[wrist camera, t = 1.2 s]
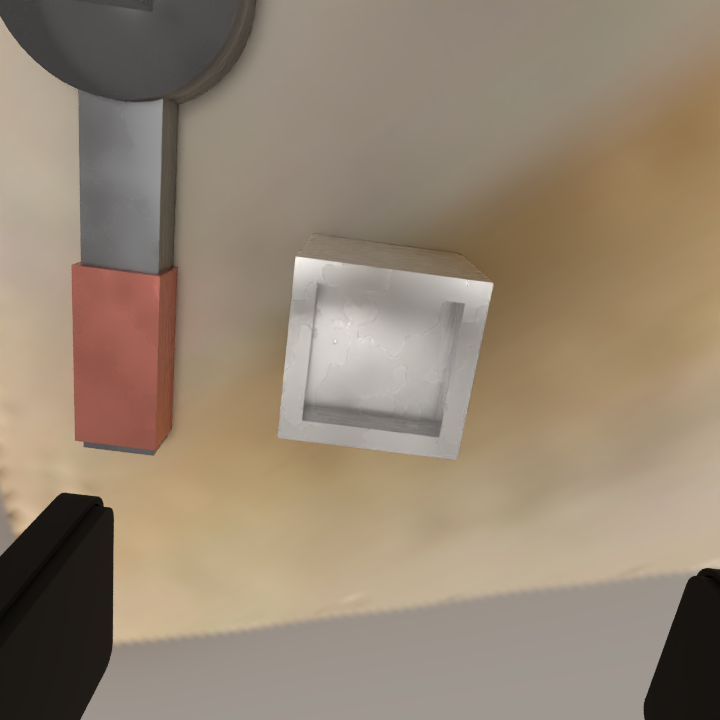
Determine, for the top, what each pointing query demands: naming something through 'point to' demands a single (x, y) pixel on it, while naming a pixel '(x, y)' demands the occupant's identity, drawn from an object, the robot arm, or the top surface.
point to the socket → (382, 346)
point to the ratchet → (128, 188)
